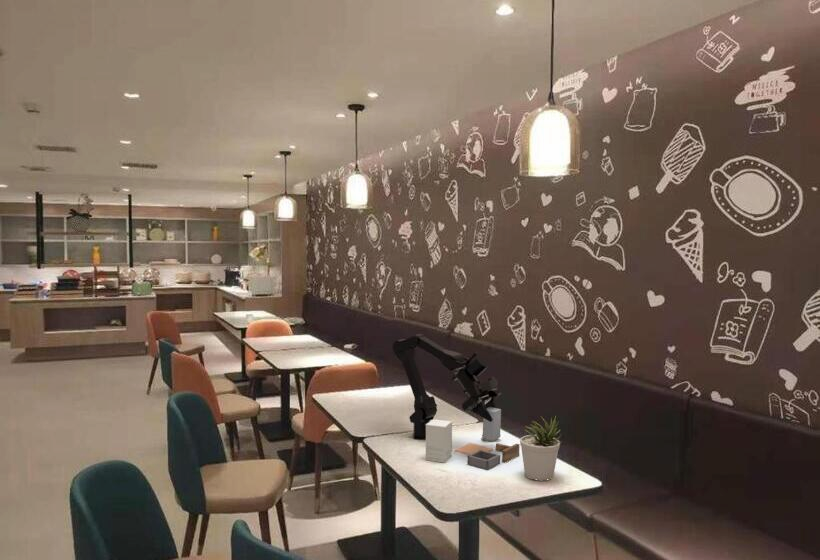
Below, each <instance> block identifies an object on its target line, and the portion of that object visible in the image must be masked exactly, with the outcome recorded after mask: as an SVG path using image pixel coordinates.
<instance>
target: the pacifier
mask: <svg viewBox="0 0 820 560" xmlns="http://www.w3.org/2000/svg"><path fill="white" fill-rule="evenodd" d="M481 436H482V437H481V438H480V439H481V440H484V441H486V442H495V441H496V440H499V439H500V438H501V437H502V435H501V433H500V437H499V438H497V439H495V440H491V439H487V438H483V434H481Z"/></svg>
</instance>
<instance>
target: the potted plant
mask: <svg viewBox="0 0 820 560" xmlns="http://www.w3.org/2000/svg"><path fill="white" fill-rule="evenodd" d="M556 418H557V415H555V417H554V419H553V421H552V417H551V418H550V424H549V423H548V422H547V421H546V420H545V419H544V418H543V417H541V419H542V421H543V422H544V426H545V428H544V427H543V426H542V425H541V424H539V423H537V422H536V421H532V424H529V426H526V425H525V426H524V427H526V428H527V429H529V431H528V430H527V429H524V431H526V432H527V433H528V435H524V436H522V437H520V438H519V443H520V445H519V446H520V449H521V455H522V460H523V461H522V462H523V470H524V475H525V476H526V477H527V478H528V477H529V478H528V479H530V478H531V480H533V479H537V480H536V481H538V480H546V481H548V480H547V479H550V480H551V478H552V479H553V478H554V475H555V469H556V464H557V459H558V454H559V453H558V452H559V449H560V446H561V443H562V441H560V440H559V439H560V438H561V436H562V434H563V433H561V434H560V436H558V437H557V438H555V436H556V435H557V434H558V433H559V432H561V429H559V430H558V431H557V429H558V427H557V426H558V424H559V422H560V421H559V420H558V421H557V420H556ZM533 424H534V425H533ZM530 426H531V427H530ZM538 426H539V427H540V428H539V427H538ZM530 431H532V432H530ZM533 433H534V434H533Z"/></svg>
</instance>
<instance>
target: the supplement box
mask: <svg viewBox="0 0 820 560" xmlns="http://www.w3.org/2000/svg"><path fill="white" fill-rule="evenodd" d="M452 438H453V422H452V421H450V420H441V419H434V418H433V420H430V422H429V423H427V424H426V439H425V460H426V461H430V462H431V461H432V462H438V463H442V464H443V463H444V464H446V462H448V461H449V460H450V459H451V458H452V457H453V442H452V441H453V439H452Z"/></svg>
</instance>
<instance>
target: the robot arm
mask: <svg viewBox="0 0 820 560" xmlns="http://www.w3.org/2000/svg"><path fill="white" fill-rule="evenodd" d="M416 348H419V349H421V350H423V351H424V352H425V353H428V355H431V356H433V358H435V359H437V360H438V361H439V362H440V364H441V366H443V367H444V368H445V369H446V370H447V371H449V372H452V371H453V373H452V377H451V381H452V382H453V381H457V380H458V382H459V384H460V386H462V388H463V391H462V392H463V393H464V394H467V395H468V397H467V398H466V399H465V400H464V401H463V402H462V403H461V404H460V405H461V407H460V409H461V410H462V412H463V413H466V412H469V411H470V412H471V413H474V414H476V415H478V416H479V417H481V418H482V419H483V418H485V419H486V420H488V421H490V422H491V421H493V420H492V418H491V416H490V414H489V412H488V411H487V409H486V408H489V407H492V408H497V409H498V407H497V403H496V402H497V399H498V397H499V396H500V395H501V394H502V392H501V391H500V389H499V388H498V383H499V381H498V380H497V378H495V377H494V376H492V377H489V378H487V380H486V381H484V382H483V381H482V380H480V379H477V377H479V376H480V375H482V373H483V372H484V371H485V370H486V369H487V368H488V367H489V366H490V362H489V360H488V358H487V357H486V356H484V355H483V354H480V353H479V352H478V351H476V352H473V354H472V355H471V356H470V357H469V358H468V357H466V356H464V355H463V354H462V353H461V352H460V353H459V352H457V351H453V350H449V349H446V348H445V347H443V346H441V345H440V344H438V343H436V342H435V341H433V340H431V339H429V338H427V337H426V336H425V335H424V334H415V335H413V336H410V337H408V338H405V339H399V340H395V341H394V342H393V343H392V345H391V349H392V352H393V353H394V356H395V359H397V361H399V362H400V363H401V364H402V366H403V370H404V372H405V375H406V377H407V381H408V384H409V385H410V389H411V391H412V392H411V393H412V395H413V398H414V402H413V403H414V404H413V409H414V411H413V413H412V414H410V415H409V417H408V419H409V421H410V423H411V424H413V425H412V426H413V432H412V437H413V440H426V424H427V423H429V422H430V421H432V420H433V419H434V417H435V416H436V414H437V412H438V409H437V407H438V404H437V403H436V400H435V397H434V396H430V395H428V393H427V391H426V388H425V386H424V383H423V379H422V377H421V375H420V372H419V369H418V367H417V363H416V361H415V355H416V351H415V349H416ZM454 371H457V372H454ZM470 408H471V409H470Z"/></svg>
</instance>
